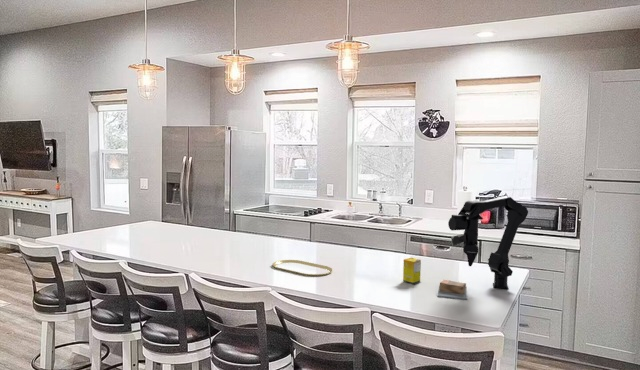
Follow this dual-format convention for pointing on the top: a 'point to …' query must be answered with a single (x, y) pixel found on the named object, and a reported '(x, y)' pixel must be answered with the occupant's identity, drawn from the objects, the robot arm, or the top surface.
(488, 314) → the top surface
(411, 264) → the supplement box
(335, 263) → the top surface
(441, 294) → the slate mat
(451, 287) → the cardboard box
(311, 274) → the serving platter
